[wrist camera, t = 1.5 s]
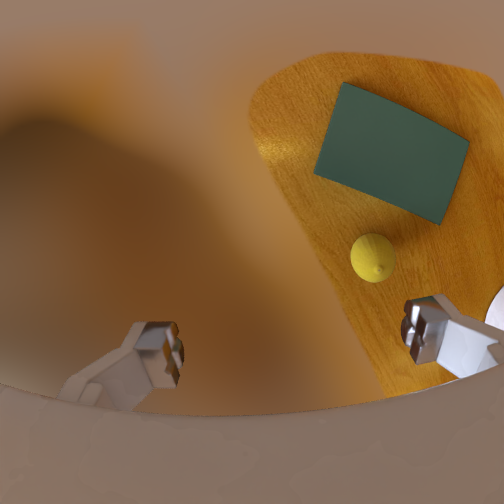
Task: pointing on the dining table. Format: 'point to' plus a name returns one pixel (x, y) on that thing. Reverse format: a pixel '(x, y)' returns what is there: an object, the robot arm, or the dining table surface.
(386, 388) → the dining table surface
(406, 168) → the cutting board
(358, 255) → the lemon
